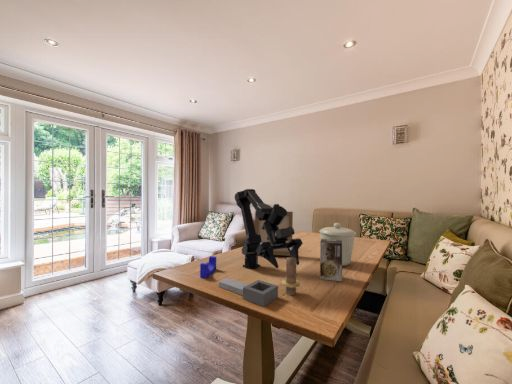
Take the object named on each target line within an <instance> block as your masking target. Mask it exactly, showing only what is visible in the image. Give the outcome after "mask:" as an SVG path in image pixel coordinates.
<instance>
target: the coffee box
mask: <svg viewBox="0 0 512 384" xmlns="http://www.w3.org/2000/svg"><path fill="white" fill-rule="evenodd" d="M319 244H320V245H319V247H320V248H319V253H320V255H319V260H320V261H319V262H320V263H319V264H320V265H319V279H320V280H326V281H335V282H336V281H337V282H342V281H343V266H342V240H329V239H321V238H320V243H319Z"/></svg>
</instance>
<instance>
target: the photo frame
mask: <svg viewBox="0 0 512 384" xmlns="http://www.w3.org/2000/svg"><path fill="white" fill-rule="evenodd" d="M293 212H294V211H287V215H286V216H285V218H284V220H283V221H282V223H281V224H280V225H278V227H279V229H283V228H288V227H293V226H294V225H293V223H294V222H293V218H294V216H293V215H294V213H293ZM255 213H256V210H255ZM255 213H254V214H255ZM265 221H266V220H265ZM265 221H259V220H258V218H257V216H256V214H255V215H254V227H255V231H256V233H257V234H258V235H260V236H261V240H262V242H268V241H269V242H270V240H267V237H268V236H267V233H266V231H265V229H262V226H263V223H264V222H265ZM293 228H294V227H293ZM292 239H293V235H292V236H291V237H288V240H287V241H286V243H289V242H290V241H291V240H292ZM289 252H290V251H289V250H288V248H283V249H275V250H273V254H274V256H286V257H291V255H290V253H289Z"/></svg>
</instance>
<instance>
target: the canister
mask: <svg viewBox="0 0 512 384" xmlns="http://www.w3.org/2000/svg"><path fill="white" fill-rule="evenodd" d="M318 232H319V234H320V240H321V239H329V240H342V267H345V266H348V265H350V263H351V261H352V258H353V257H352V255H353V252H354V251H353V249H354V242H355V237H356V235H357V232H356V231H354V230H352V229H351V228H347V227H342V224H341V223H340V222H334V223H333V226H327V227H322V228H321V229H319V230H318Z"/></svg>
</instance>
